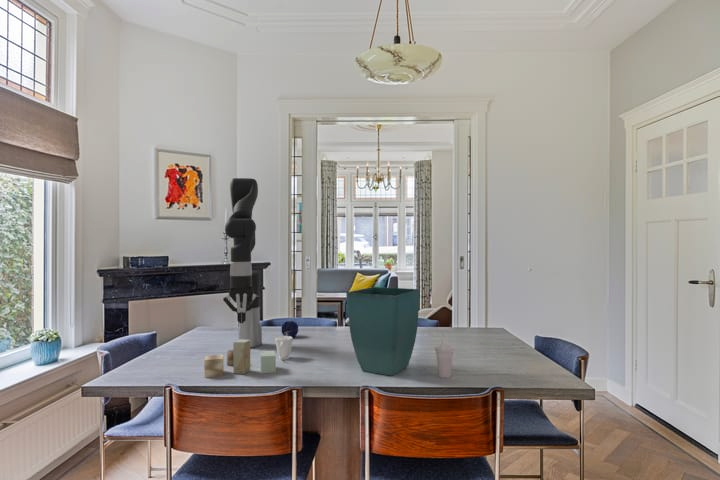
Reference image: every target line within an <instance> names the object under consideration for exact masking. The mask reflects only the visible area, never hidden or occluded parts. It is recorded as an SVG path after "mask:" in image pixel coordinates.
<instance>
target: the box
mask: <svg viewBox="0 0 720 480" xmlns="http://www.w3.org/2000/svg"><path fill="white" fill-rule="evenodd" d="M232 343H233V349H232V350H233V366H232V367H233V368H232V369H233V374H239V375H241V374H242V375H244V374H247V373H248V372H249V371H251V348H250V340H244V339H240V340H239V339H238V340H235V341H234V342H232Z"/></svg>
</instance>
